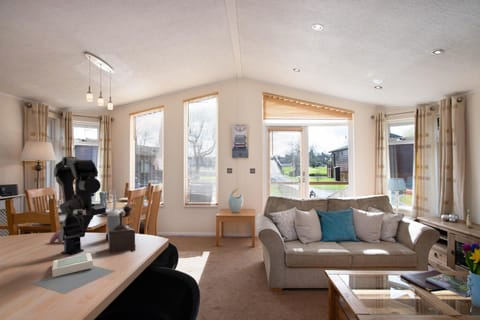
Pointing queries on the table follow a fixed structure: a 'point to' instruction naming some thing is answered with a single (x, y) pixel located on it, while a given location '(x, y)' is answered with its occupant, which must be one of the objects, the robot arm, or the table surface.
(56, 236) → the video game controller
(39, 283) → the mat
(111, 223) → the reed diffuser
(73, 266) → the picture frame
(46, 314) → the table surface
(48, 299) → the table surface
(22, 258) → the table surface
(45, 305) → the table surface
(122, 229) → the coffee grinder
